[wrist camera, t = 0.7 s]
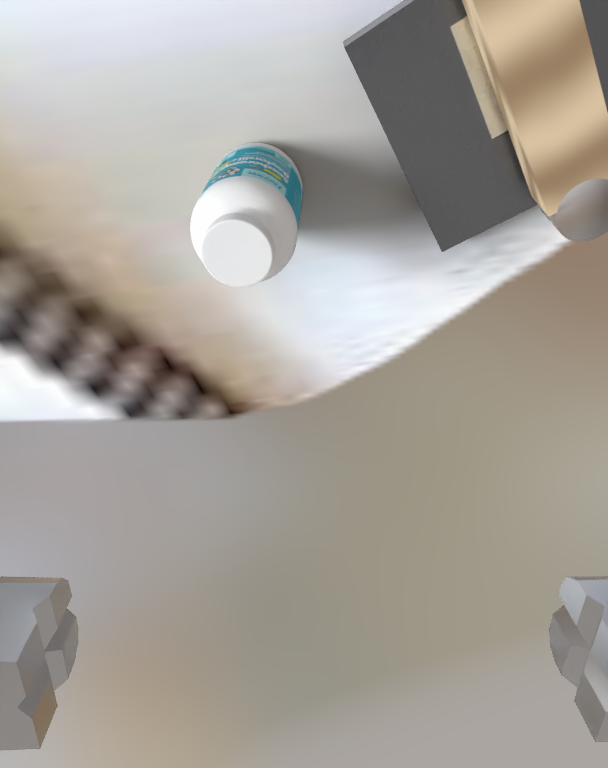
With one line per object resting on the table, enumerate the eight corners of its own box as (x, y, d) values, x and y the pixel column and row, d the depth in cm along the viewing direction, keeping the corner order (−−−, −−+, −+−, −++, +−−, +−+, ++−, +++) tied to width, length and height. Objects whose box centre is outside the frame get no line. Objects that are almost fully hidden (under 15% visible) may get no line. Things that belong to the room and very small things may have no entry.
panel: (638, -158, 33) (673, -171, 30) (687, 122, 43) (718, 136, 39) (343, 41, 40) (344, 49, 37) (440, 246, 49) (449, 267, 46)
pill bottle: (300, 136, 44) (292, 194, 33) (305, 227, 48) (300, 304, 38) (206, 142, 44) (168, 200, 34) (220, 231, 49) (191, 308, 38)
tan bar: (611, 200, 42) (634, 220, 39) (544, 232, 43) (561, 254, 40) (522, -128, 31) (544, -138, 28) (437, -69, 33) (449, -71, 30)
